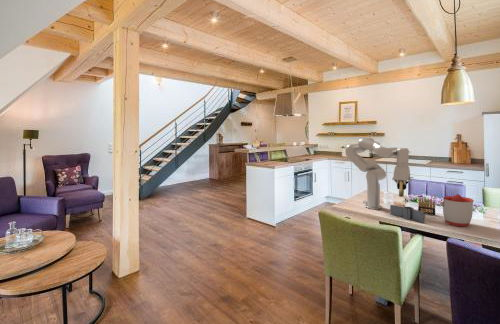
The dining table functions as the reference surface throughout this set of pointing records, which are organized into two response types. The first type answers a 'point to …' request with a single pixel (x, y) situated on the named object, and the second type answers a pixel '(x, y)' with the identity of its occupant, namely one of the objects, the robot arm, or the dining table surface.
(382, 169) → the robot arm
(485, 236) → the dining table surface
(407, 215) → the hinge
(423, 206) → the ammunition clip
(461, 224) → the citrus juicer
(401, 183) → the hinge pin
